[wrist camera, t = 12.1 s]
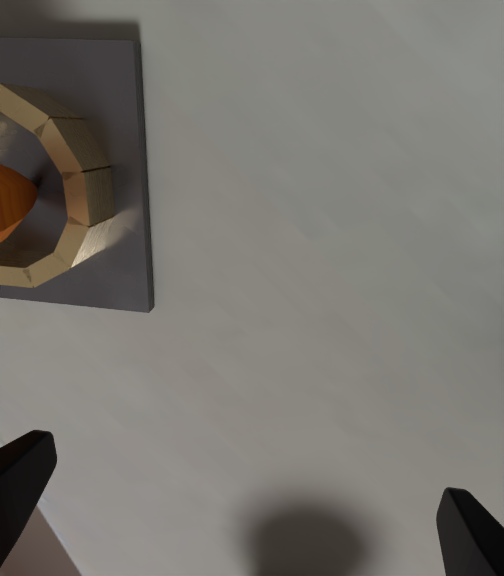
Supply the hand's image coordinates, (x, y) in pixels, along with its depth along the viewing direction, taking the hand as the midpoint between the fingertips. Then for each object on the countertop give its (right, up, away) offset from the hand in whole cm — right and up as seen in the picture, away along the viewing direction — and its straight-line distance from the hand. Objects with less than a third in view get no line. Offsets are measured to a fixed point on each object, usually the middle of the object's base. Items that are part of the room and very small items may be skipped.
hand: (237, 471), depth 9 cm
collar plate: (-11, +10, +12) cm, 19 cm away
